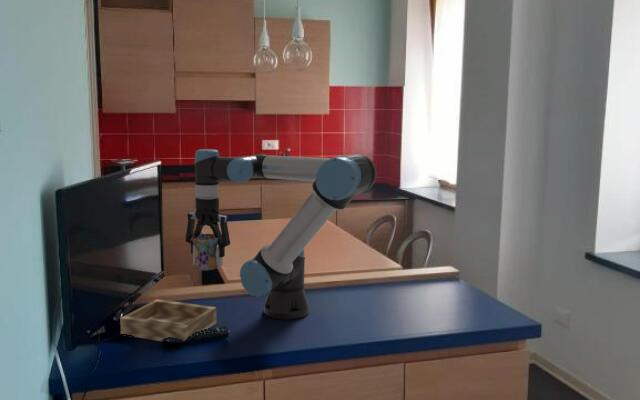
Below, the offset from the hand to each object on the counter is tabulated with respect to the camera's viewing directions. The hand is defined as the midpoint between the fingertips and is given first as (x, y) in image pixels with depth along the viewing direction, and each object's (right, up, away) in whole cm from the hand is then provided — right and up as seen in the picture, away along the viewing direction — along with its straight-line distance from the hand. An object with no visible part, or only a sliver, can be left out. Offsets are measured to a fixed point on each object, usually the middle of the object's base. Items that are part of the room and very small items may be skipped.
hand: (207, 264), depth 200 cm
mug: (-1, -1, 0) cm, 1 cm away
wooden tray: (-9, -18, -13) cm, 24 cm away
